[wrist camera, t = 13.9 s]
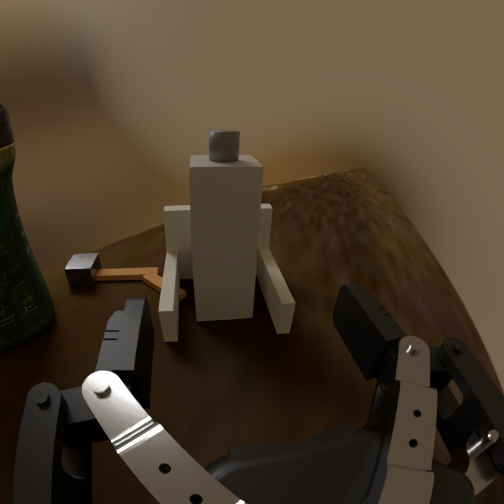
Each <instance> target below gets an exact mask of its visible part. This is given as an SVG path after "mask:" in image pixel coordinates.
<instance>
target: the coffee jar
mask: <svg viewBox="0 0 504 504" xmlns="http://www.w3.org/2000/svg"><path fill="white" fill-rule="evenodd" d="M14 162H15V143H14V138H13V133H12V128H11V125H10V120H9V114H8V110H7V108H6V107H5V106H4V105H2V104H0V352H1V351H4V350H7V349H9V348H12V347H14V346H16V345H18V344H20V343H22V342H24V341H26V340H28V339H30V338H32V337H34V336H35V335H37V334H39V333H40V332H42V331H43V330H44V329H45V328H46V327H47V326H48V324H49V322H50V321H51V319H52V317H53V312H54V307H53V301H52V298H51V295H50V292H49V290H48V287H47V285H46V282H45V280H44V278H43V275H42V273H41V271H40V269H39V266H38V264H37V262H36V260H35V257H34V255H33V253H32V251H31V248H30V245H29V243H28V240H27V238H26V235H25V232H24V229H23V226H22V223H21V220H20V217H19V213H18V209H17V205H16V200H15V196H14V190H13V183H12V172H13V167H14Z"/></svg>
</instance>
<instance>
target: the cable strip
mask: <svg viewBox="0 0 504 504" xmlns="http://www.w3.org/2000/svg"><path fill="white" fill-rule="evenodd" d="M158 274H159V271H158V267H154V268H124V269H99V270H98V272H97V274H96V279H97V281H106V280H143V282H145V283H146V284H148V285H149V286H151V287H152V288H154V289H156V290H157V291H159V292H160V293H161V288H162V281H163V278H162V277H161V276H159V275H158ZM178 297H179V301H181V300H182V299H184V298H185V297H186V291H185V290H183V289H181V288H180V287H179V293H178Z"/></svg>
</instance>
